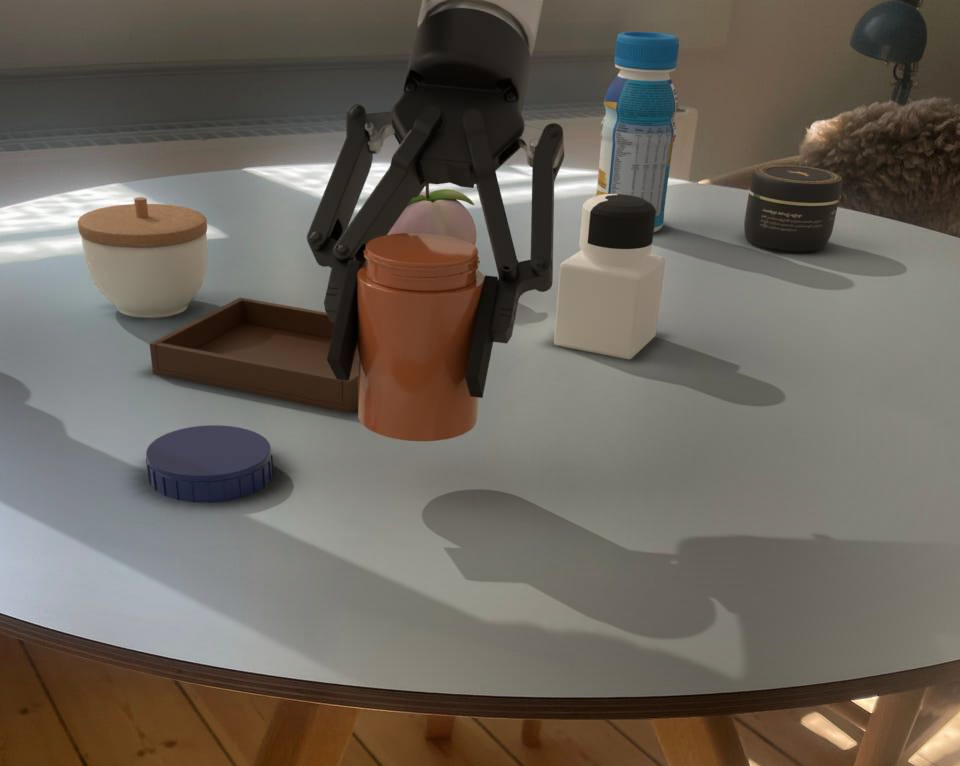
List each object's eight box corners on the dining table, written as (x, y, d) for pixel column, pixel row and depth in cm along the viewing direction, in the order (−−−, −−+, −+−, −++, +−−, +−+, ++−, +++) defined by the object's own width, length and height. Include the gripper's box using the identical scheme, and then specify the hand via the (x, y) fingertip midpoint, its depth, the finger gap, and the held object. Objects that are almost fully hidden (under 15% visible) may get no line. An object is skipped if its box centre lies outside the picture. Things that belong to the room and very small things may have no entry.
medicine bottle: (656, 337, 103) (674, 196, 96) (630, 361, 97) (648, 213, 91) (581, 323, 105) (594, 184, 98) (552, 346, 100) (563, 201, 93)
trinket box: (153, 335, 98) (139, 220, 92) (64, 310, 102) (46, 199, 97) (238, 305, 105) (230, 197, 100) (152, 282, 110) (140, 178, 105)
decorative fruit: (439, 271, 117) (441, 167, 111) (487, 293, 111) (492, 184, 106) (359, 285, 112) (357, 176, 106) (406, 308, 107) (407, 195, 101)
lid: (292, 487, 75) (291, 461, 74) (173, 514, 71) (170, 486, 70) (245, 442, 80) (243, 416, 79) (132, 464, 77) (128, 438, 76)
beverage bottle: (630, 240, 130) (652, 41, 119) (576, 224, 135) (592, 31, 124) (678, 229, 135) (704, 37, 124) (624, 214, 140) (644, 28, 129)
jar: (753, 228, 137) (764, 159, 133) (838, 241, 134) (852, 171, 129) (730, 247, 130) (741, 175, 125) (819, 261, 126) (834, 187, 122)
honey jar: (337, 427, 72) (334, 253, 66) (389, 386, 78) (390, 224, 72) (450, 451, 70) (457, 274, 64) (494, 407, 76) (505, 242, 70)
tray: (152, 374, 90) (148, 343, 89) (241, 325, 101) (239, 297, 99) (350, 414, 85) (349, 381, 84) (422, 358, 96) (423, 329, 94)
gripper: (634, 99, 75) (577, 425, 71) (331, 72, 78) (259, 384, 74) (637, 14, 68) (574, 372, 64) (303, -12, 71) (221, 329, 67)
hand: (405, 378), depth 69 cm, fingers closed on honey jar, 8 cm apart
